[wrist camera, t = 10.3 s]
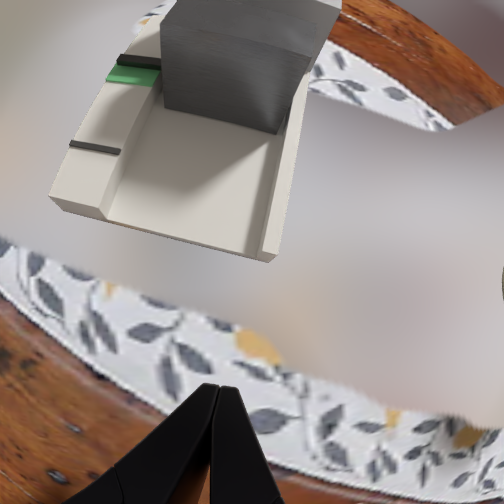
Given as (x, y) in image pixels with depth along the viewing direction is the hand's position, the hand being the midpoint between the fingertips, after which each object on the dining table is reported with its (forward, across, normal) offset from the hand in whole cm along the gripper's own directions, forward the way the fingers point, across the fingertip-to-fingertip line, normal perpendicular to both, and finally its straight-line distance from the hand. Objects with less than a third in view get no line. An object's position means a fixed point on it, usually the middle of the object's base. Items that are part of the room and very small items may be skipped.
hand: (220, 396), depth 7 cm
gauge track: (+20, +6, -7) cm, 22 cm away
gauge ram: (+20, +6, -10) cm, 23 cm away
